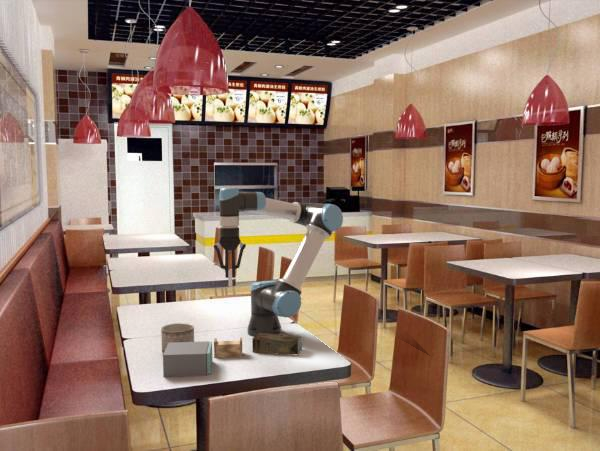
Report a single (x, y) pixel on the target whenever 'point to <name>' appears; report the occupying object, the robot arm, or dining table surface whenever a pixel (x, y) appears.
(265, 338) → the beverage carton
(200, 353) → the housing
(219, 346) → the oak block
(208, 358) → the tray
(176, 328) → the planter
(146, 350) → the dining table surface
